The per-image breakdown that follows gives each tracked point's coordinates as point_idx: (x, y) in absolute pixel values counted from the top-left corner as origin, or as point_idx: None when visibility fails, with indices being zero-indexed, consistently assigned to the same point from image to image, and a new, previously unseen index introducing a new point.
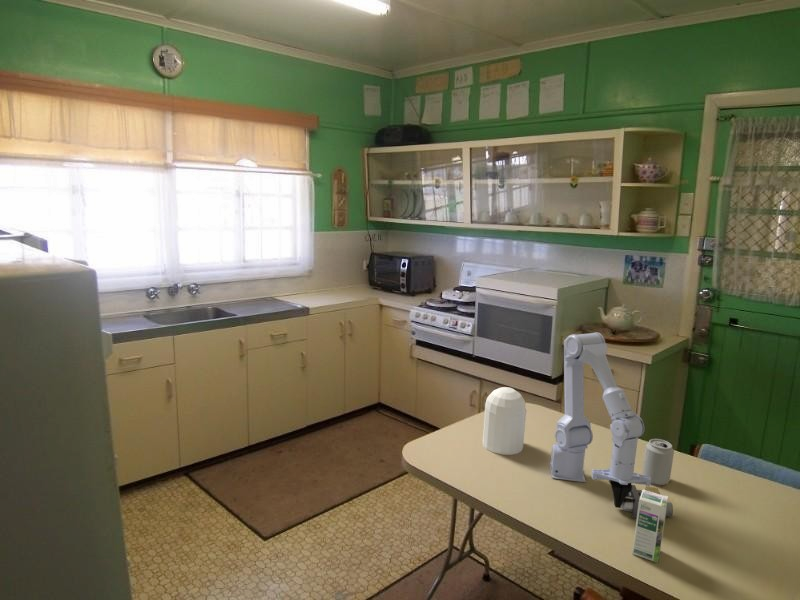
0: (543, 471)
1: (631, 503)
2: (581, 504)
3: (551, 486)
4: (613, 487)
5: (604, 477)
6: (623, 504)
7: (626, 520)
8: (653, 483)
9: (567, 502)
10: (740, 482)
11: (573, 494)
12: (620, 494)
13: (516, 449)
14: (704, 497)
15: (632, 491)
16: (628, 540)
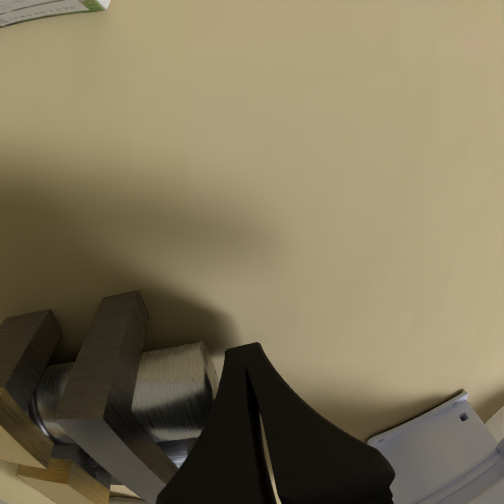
0: (470, 402)
1: (153, 393)
2: (427, 293)
3: (485, 347)
4: (377, 466)
5: (489, 497)
6: (209, 379)
7: (173, 254)
8: (132, 500)
9: (475, 274)
10: (5, 494)
11: (436, 349)
12: (253, 434)
13: (497, 424)
14: (9, 466)
15: (160, 482)
16: (156, 3)
